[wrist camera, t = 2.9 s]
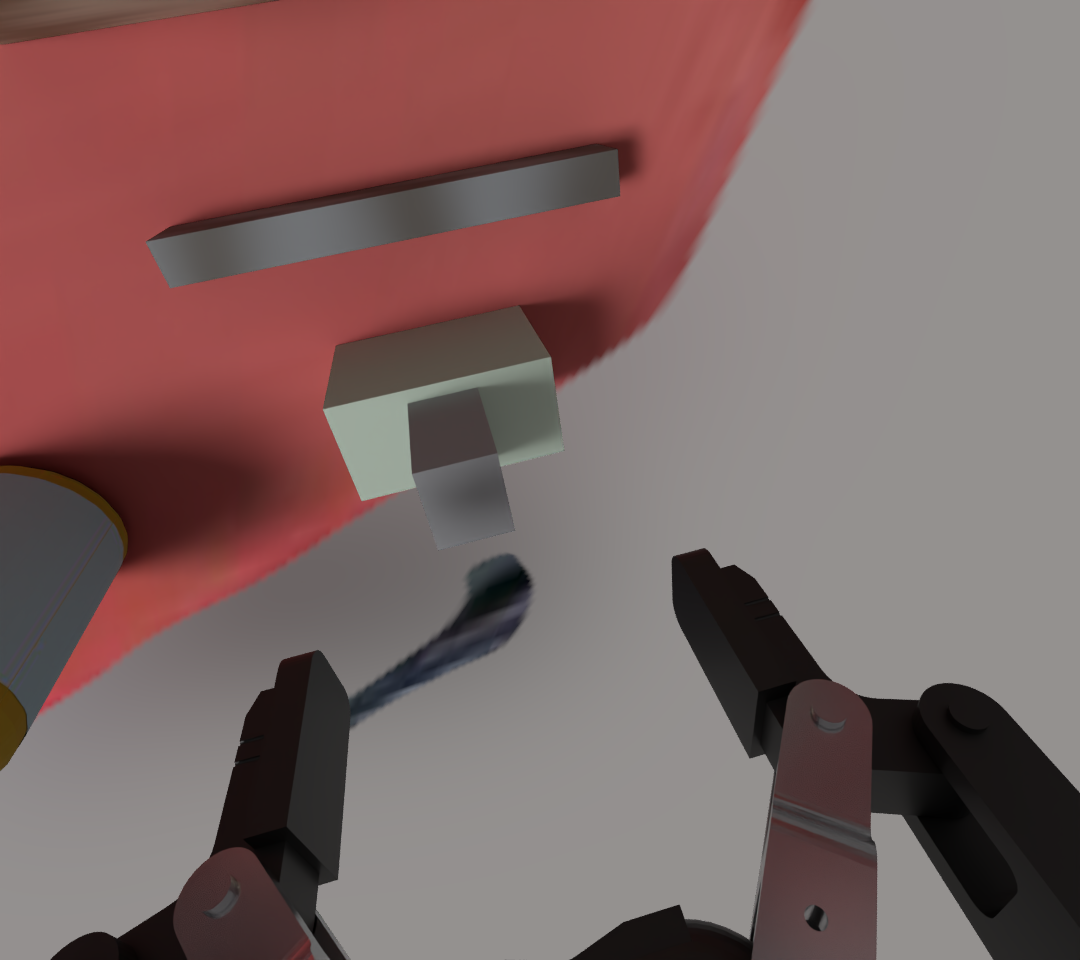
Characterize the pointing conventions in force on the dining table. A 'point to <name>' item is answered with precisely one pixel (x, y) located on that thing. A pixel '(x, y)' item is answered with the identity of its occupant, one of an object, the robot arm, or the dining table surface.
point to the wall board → (338, 220)
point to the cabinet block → (446, 416)
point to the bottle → (47, 585)
